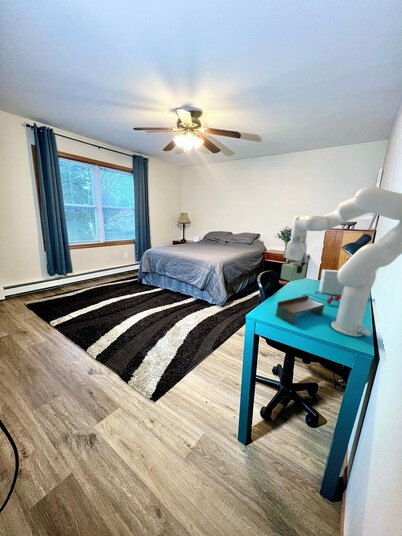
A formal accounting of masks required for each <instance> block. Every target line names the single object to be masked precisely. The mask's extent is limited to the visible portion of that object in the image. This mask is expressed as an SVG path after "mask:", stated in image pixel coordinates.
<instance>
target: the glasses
mask: <svg viewBox="0 0 402 536" xmlns="http://www.w3.org/2000/svg"><path fill="white" fill-rule="evenodd" d="M314 292H315V291H314ZM320 292H322V291H319V290H318V291H316V292H315V294H318V293H320ZM323 293H325V292H323ZM306 295H309V296H311V297H314V298H317V299H318V300H319V299H320V300H322V301H325V302H326V303H327V304H328V305H331V303H332V302H333V301H335V302H340V300H341V295H334V294H328V293H326V294H325V295H329V297H328V298H327V299H324V298H322V297H321V298H320V297H318V296H316V295H313V294H310V293H307V294H303V295H302V296H306Z"/></svg>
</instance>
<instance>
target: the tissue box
mask: <svg viewBox="0 0 402 536" xmlns="http://www.w3.org/2000/svg"><path fill="white" fill-rule="evenodd" d="M298 266H299V263H298V261H291V262H290V264H287V263H282V265H281V271H280V279H282V280H285V281H287V282H295V281H301V280H305V277H306V269H307V264H305V265H304V266H303V268H302V272H301V273H297V268H298Z"/></svg>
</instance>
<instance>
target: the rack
mask: <svg viewBox="0 0 402 536" xmlns="http://www.w3.org/2000/svg"><path fill="white" fill-rule="evenodd" d="M309 296H310V295H306V294H305V296H303V295H302V296H298V297H293V298H288V299H284V300H280V301H277V306H276V312H275V316H276V317H277V318H279V319H281V320H283V321H285V322H287V323H288V324H290V325H295V323H296V317H297V315H301V314H303V313H307V312H312V313H314V314H317V315H319V316H323V313H324V308H325V304H324V303H321V302H319V301H317V300H314V299H311V298H309Z"/></svg>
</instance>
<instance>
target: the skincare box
mask: <svg viewBox="0 0 402 536" xmlns="http://www.w3.org/2000/svg"><path fill="white" fill-rule="evenodd" d="M338 271H339V269H338V270H337V269H322V270H321V274H320V281H319V285H318V292H319V291H322V292H319V293H320V294H322V295H329V294H331V295H334V296H335V295H340V296H342V292H343V289H344V286H343V285H342V284H341V283H340V282H339V281H338V278H337V274H338ZM323 292H325V293H323ZM326 293H328V294H326Z"/></svg>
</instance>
